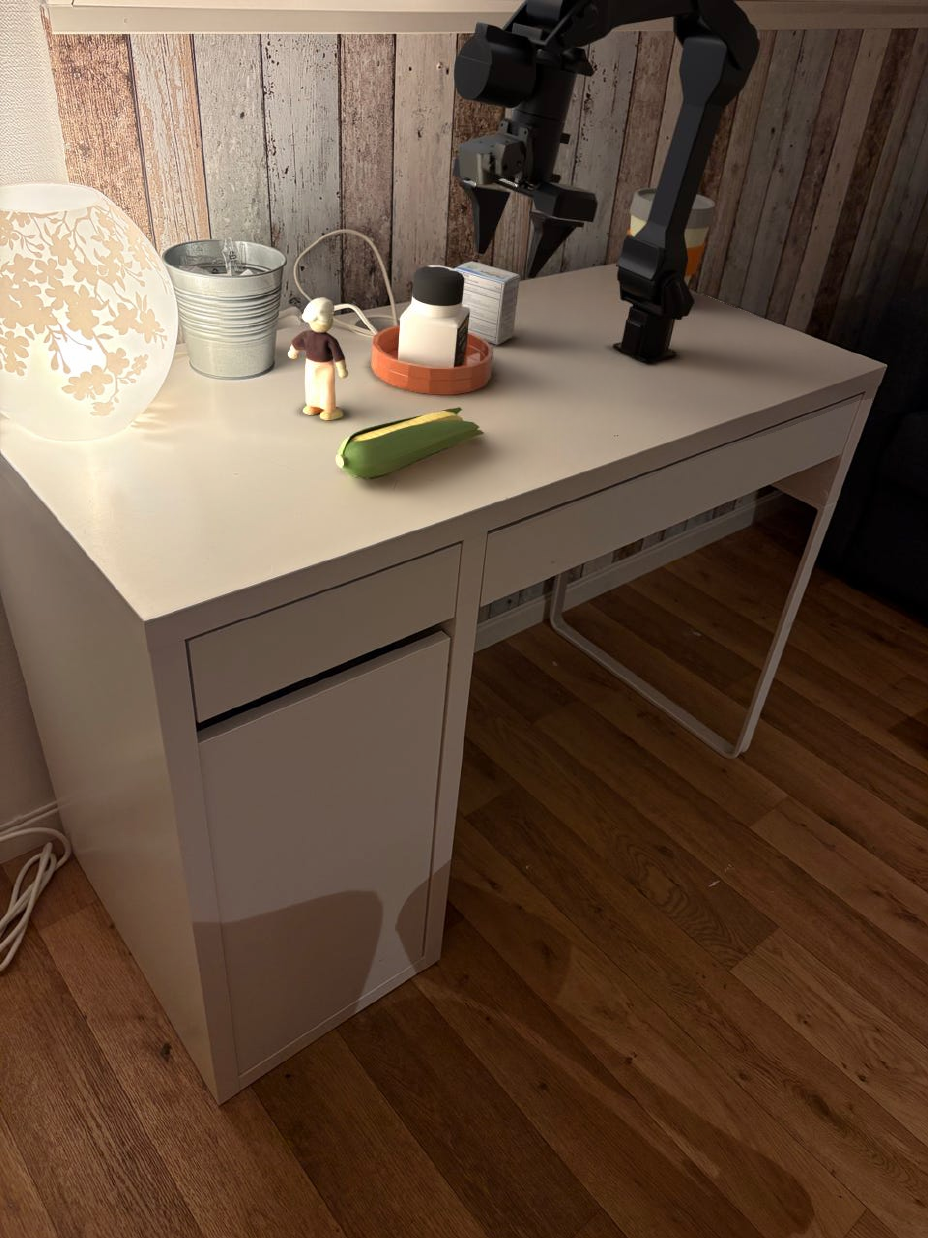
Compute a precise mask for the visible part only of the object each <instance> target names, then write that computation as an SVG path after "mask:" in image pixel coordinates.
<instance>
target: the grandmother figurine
mask: <svg viewBox="0 0 928 1238" xmlns="http://www.w3.org/2000/svg"><path fill="white" fill-rule="evenodd" d="M334 315H335V304H333V301H332V300H331V299H328V298H326V297H325V296H323V297H317V298H314V299H312V300H311V301H310V302H309V303H308V304H307V306H306V307H305V308H304V311H303V314H302V315H301V317H302V321H304V322H305V323H308V324H309V326H310V328H311V329H307V330H304V331H301V332H300V333H298V334H297V335H296V336H294V338H292V339H291V341H290V342H291V345H290V349H289V351H288V352H287V355H288V357H289V358H290V359H292V360H295V359H297V357H298V355H299V353H300V352H301V351H305V370H304V371H305V372H304V373H305V374H304V388H305V403H306V406H305V407H304V408H303V410H302V412H303V413H304V414H305V415H309V416H314V415H317V414H319V413H320V414H319V418H320V419H322V420H324V421H333V420H337V419H340V418H343V417H344V412H343V410H342V409H341V408H340V407H338V406H337V400H336V370H335V366H336V368H337V370H338V377H339V378H341V379H346V378H347V377H348V376H349V370H348V369H347V362H346V357H345V354H344V352H343V349H342V348H341V345H340V342H339V341H338V339H337V338H336V337H335V336H333V335H331V334H330V333H328V331H329V330H331V328H332V327H333V325H334Z"/></svg>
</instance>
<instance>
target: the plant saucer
mask: <svg viewBox="0 0 928 1238" xmlns="http://www.w3.org/2000/svg"><path fill="white" fill-rule="evenodd" d="M399 337H400V324H398V325H393V326H390V327H385V328H384V329H381V330H379V332H377V333H376V334H374V336H373V337H372V338H373V339H372V343H371V362H370V363H371V364H370V365H371V369H372V372H373V373H374V375H376V376H377V377H378V378H379V379H380V380H382V381H383V382H385V383H387V384H389V385H391V386H393V387H395V388H399V389H402V390H406V391H409V392H415V393H420V394H426V395H427V394H429V395H459V394H465V393H469V392H473V391H476V390H479V389H481V388H483V387H484V386H486V385H487V384H488V383H489V381H490V380H491V378H492V371H493V363H494V362H493V361H494V347H493V346H492V345H491V343H490V342H487V341H486V340H485V339H483V338H481V337H479V336H477V335H476V334H474V333H471V332H468V335H467V345H466V355H465V362H464V364H463V365H462V366H459V367H430V366H424V365H418V364H412V363H409V362H405V361H402V360H399V359H398V353H399Z"/></svg>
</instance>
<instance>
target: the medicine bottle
mask: <svg viewBox="0 0 928 1238" xmlns="http://www.w3.org/2000/svg"><path fill="white" fill-rule="evenodd" d="M412 277H413V278H412V281H413V282H412V291H411V292H412V293H411V303H410V304H409V305H408V307H407V308H406V310H404V312H403V313H402V314H401V315H400V320H399V321H400V322H399V323H400V324H399V325H400V337H399V353H398V359H399V360H402V361H405V362H409V363H412V364H418V365H424V366H430V367H459V366H462V365H463V364H464V362H465V355H466V345H467V335H468V326H469V316H470V308H469V307H464V306H462V301H463V291H464V281H465V278H464V276H463V275H462V274H461V273H460V272H458V271H457V270H455V268H453V267H450V266H445V265H440V264H439V265H438V264H432V265H431V264H430V265H429V264H428V265H425V266H422V267H419V268H417V269H416V270H415V271H414V272H413V276H412Z"/></svg>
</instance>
